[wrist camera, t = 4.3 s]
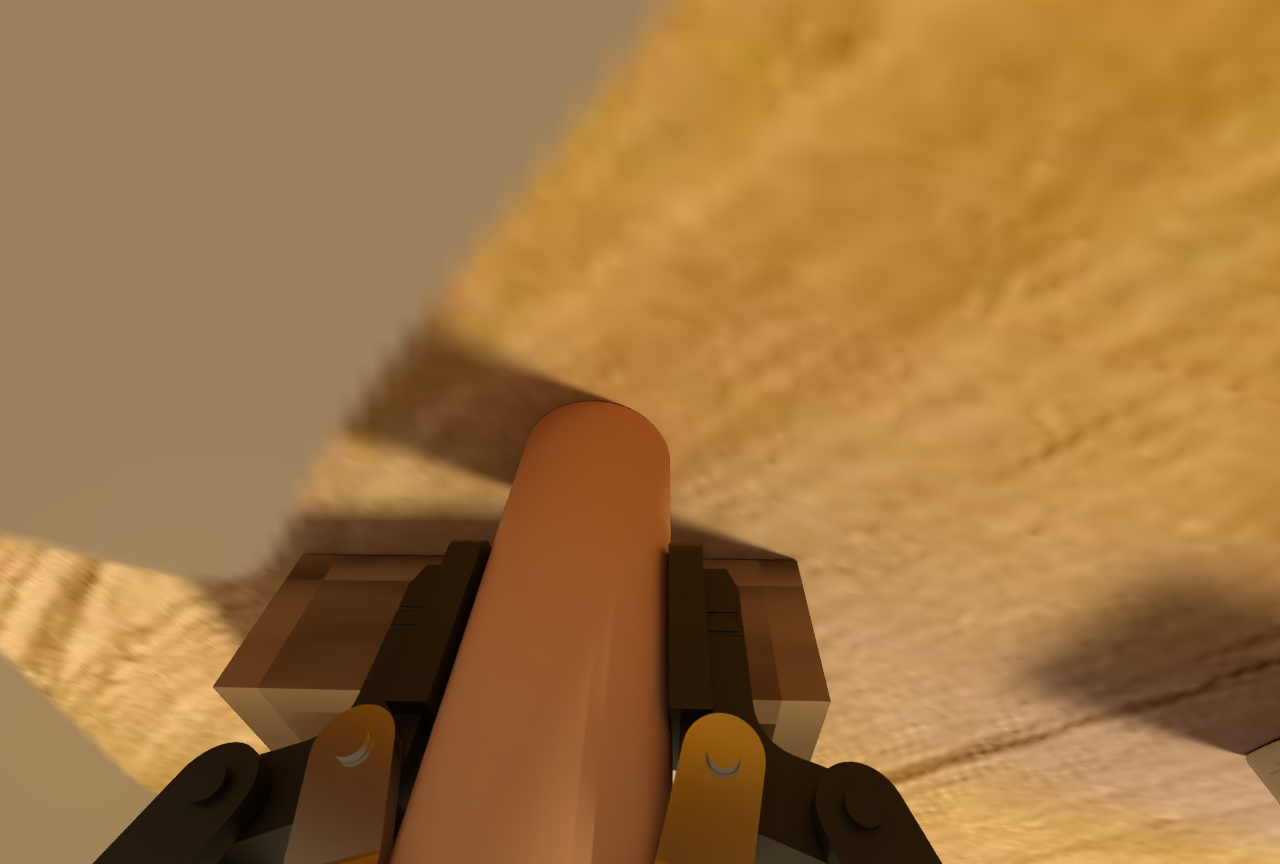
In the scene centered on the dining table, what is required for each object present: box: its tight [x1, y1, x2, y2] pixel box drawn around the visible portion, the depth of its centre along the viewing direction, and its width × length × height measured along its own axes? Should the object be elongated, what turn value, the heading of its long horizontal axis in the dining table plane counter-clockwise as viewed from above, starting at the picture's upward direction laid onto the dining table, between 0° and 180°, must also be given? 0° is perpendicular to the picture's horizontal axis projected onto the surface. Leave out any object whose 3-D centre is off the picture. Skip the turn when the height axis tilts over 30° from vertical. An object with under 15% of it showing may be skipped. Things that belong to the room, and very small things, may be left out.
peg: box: [389, 401, 673, 864], centre depth 11 cm, size 4×4×12 cm
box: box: [213, 555, 831, 783], centre depth 22 cm, size 20×16×4 cm
